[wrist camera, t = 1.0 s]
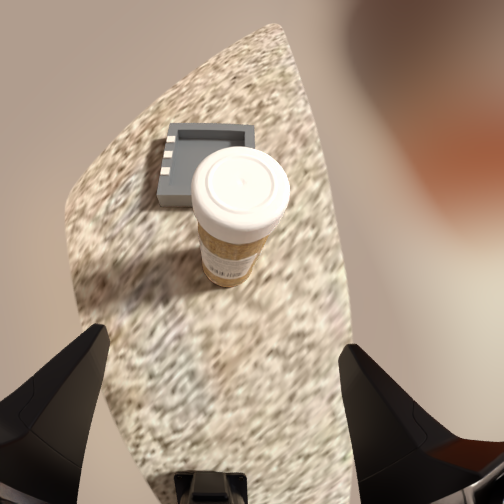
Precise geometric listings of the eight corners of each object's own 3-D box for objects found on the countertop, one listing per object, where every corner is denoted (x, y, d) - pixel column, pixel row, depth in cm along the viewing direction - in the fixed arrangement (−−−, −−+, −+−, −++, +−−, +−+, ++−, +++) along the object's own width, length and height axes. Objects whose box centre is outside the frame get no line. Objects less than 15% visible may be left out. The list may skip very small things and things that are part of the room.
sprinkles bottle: (261, 254, 25) (307, 171, 12) (236, 298, 24) (264, 249, 11) (217, 230, 25) (224, 129, 13) (191, 272, 24) (169, 196, 11)
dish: (253, 208, 26) (257, 196, 24) (160, 206, 25) (156, 193, 23) (251, 138, 29) (254, 124, 27) (171, 136, 28) (169, 121, 26)
